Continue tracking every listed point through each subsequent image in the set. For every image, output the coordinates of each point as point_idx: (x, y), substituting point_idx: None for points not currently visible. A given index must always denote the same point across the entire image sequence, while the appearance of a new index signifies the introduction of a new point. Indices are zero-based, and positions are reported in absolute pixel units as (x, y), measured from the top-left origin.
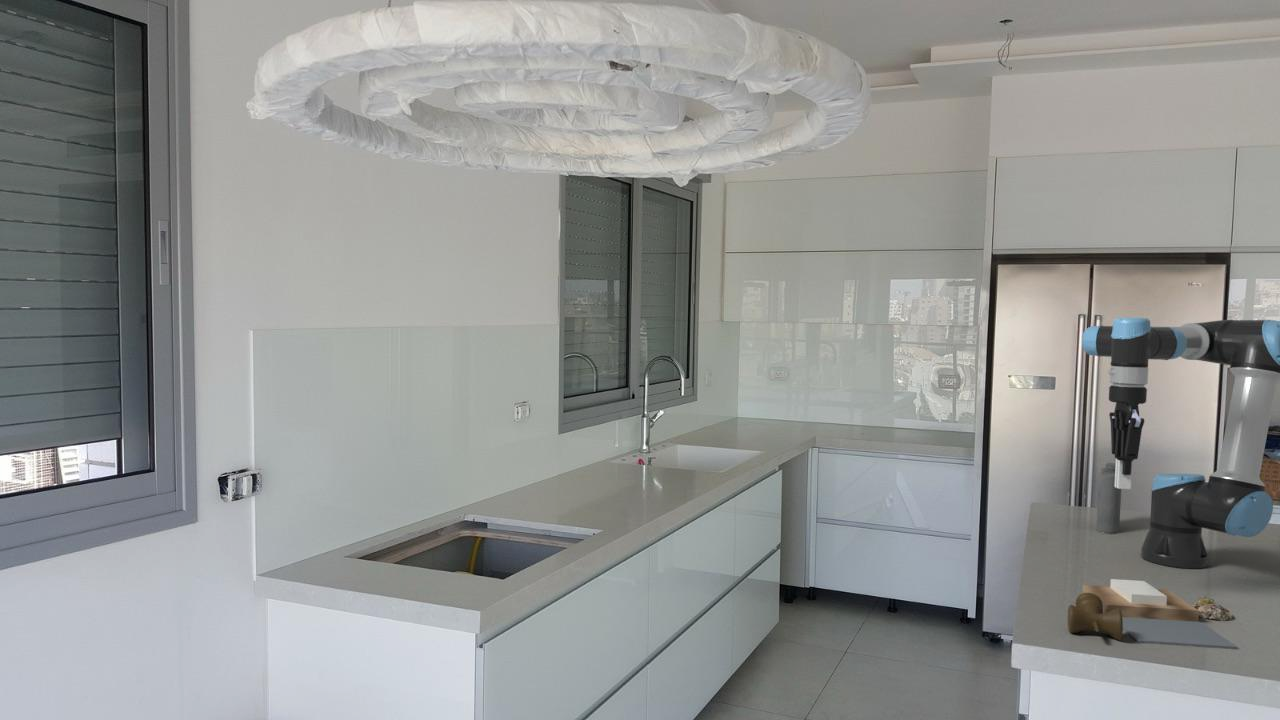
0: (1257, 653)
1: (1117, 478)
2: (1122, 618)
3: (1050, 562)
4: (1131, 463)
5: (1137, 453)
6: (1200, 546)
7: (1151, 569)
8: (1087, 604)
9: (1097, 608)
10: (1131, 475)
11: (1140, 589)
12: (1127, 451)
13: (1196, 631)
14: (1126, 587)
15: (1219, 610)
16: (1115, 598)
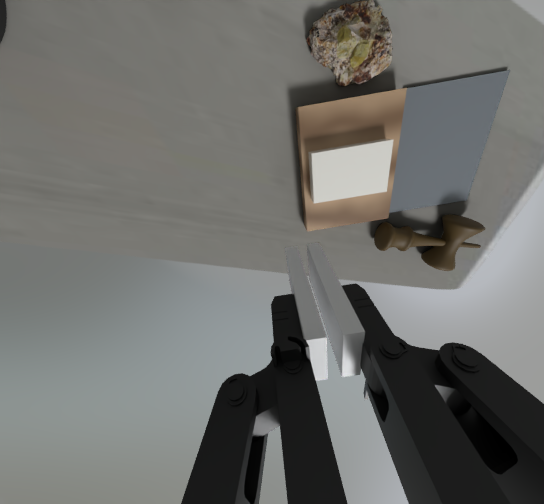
0: (528, 41)
1: (317, 301)
2: (395, 199)
3: (149, 239)
4: (356, 320)
5: (521, 390)
6: None
7: (72, 67)
8: (412, 246)
9: (418, 236)
10: (334, 273)
11: (361, 172)
12: (503, 439)
13: (444, 113)
14: (354, 190)
15: (391, 36)
16: (360, 203)
